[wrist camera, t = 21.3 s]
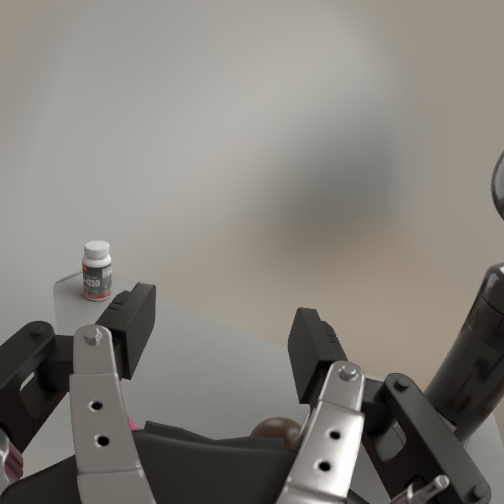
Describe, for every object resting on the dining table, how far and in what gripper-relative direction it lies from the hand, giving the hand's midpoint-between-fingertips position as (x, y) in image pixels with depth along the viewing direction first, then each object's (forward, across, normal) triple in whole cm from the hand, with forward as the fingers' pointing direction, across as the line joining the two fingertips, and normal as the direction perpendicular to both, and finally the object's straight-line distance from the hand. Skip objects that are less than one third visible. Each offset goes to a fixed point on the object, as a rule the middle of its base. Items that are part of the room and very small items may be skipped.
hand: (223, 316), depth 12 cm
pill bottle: (+26, +20, +17) cm, 37 cm away
